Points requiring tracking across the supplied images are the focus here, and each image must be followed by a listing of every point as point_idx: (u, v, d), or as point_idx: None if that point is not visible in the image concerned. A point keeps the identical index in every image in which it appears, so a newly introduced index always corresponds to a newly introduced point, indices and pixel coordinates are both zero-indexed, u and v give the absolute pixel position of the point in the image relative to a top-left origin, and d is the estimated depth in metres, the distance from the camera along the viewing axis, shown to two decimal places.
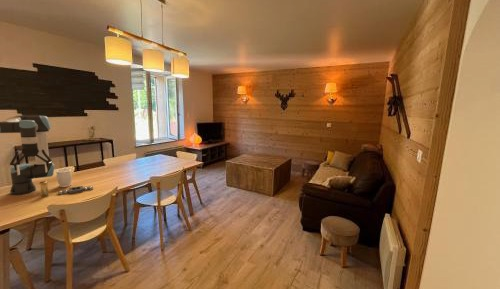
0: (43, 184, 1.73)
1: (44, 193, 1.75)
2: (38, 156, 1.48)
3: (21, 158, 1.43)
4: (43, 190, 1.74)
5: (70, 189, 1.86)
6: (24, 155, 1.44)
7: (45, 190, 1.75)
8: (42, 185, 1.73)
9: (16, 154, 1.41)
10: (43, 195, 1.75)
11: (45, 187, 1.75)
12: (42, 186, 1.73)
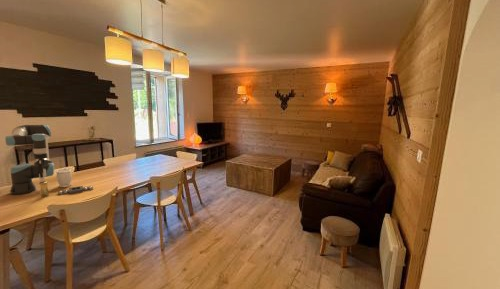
0: (43, 184, 1.73)
1: (44, 193, 1.75)
2: None
3: None
4: (43, 190, 1.74)
5: (70, 189, 1.86)
6: None
7: (45, 190, 1.75)
8: (42, 185, 1.73)
9: None
10: (43, 195, 1.75)
11: (45, 187, 1.75)
12: (42, 186, 1.73)
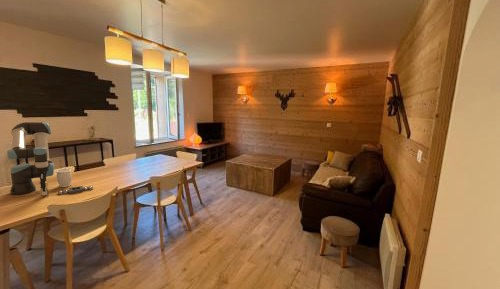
0: None
1: None
2: None
3: None
4: None
5: (70, 189, 1.86)
6: None
7: None
8: None
9: None
10: (43, 195, 1.75)
11: None
12: None
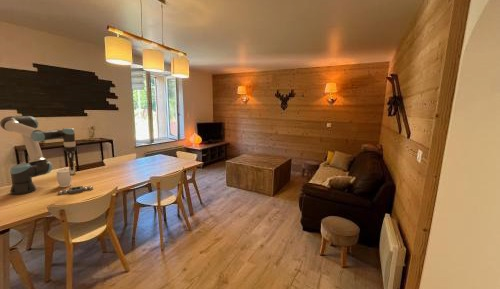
0: None
1: None
2: (69, 158, 1.81)
3: None
4: None
5: (70, 189, 1.86)
6: None
7: None
8: None
9: None
10: (71, 174, 1.83)
11: None
12: None
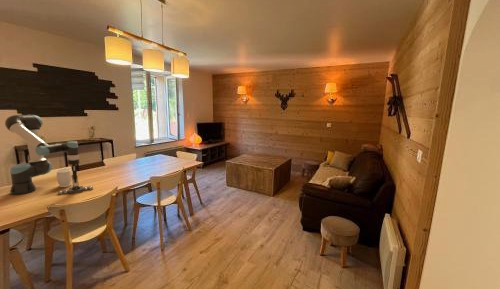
0: None
1: None
2: (72, 171, 1.84)
3: None
4: None
5: (70, 189, 1.86)
6: None
7: None
8: None
9: None
10: (74, 187, 1.87)
11: None
12: None
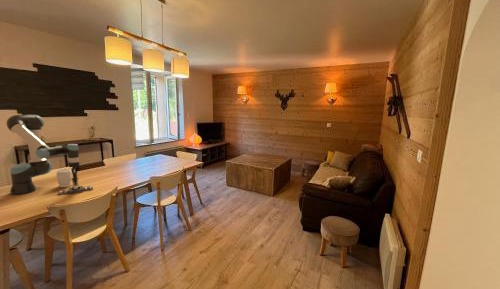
0: None
1: None
2: None
3: None
4: None
5: (70, 189, 1.86)
6: None
7: None
8: None
9: None
10: None
11: None
12: None
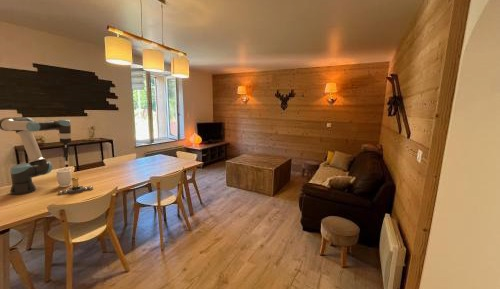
0: (75, 180, 1.86)
1: (75, 188, 1.87)
2: (64, 150, 1.78)
3: None
4: (75, 186, 1.87)
5: (70, 189, 1.86)
6: None
7: (76, 186, 1.87)
8: (74, 181, 1.86)
9: None
10: None
11: (76, 183, 1.87)
12: (74, 182, 1.86)
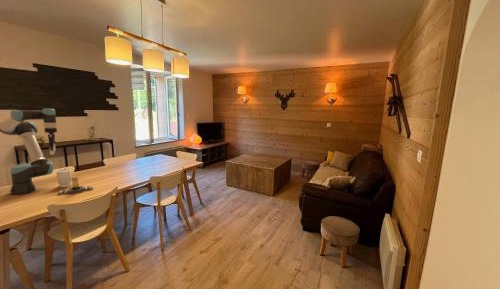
0: (75, 180, 1.86)
1: (75, 188, 1.87)
2: (49, 139, 1.74)
3: None
4: (75, 186, 1.87)
5: (70, 189, 1.86)
6: None
7: (76, 186, 1.87)
8: (74, 181, 1.86)
9: None
10: None
11: (76, 183, 1.87)
12: (74, 182, 1.86)
